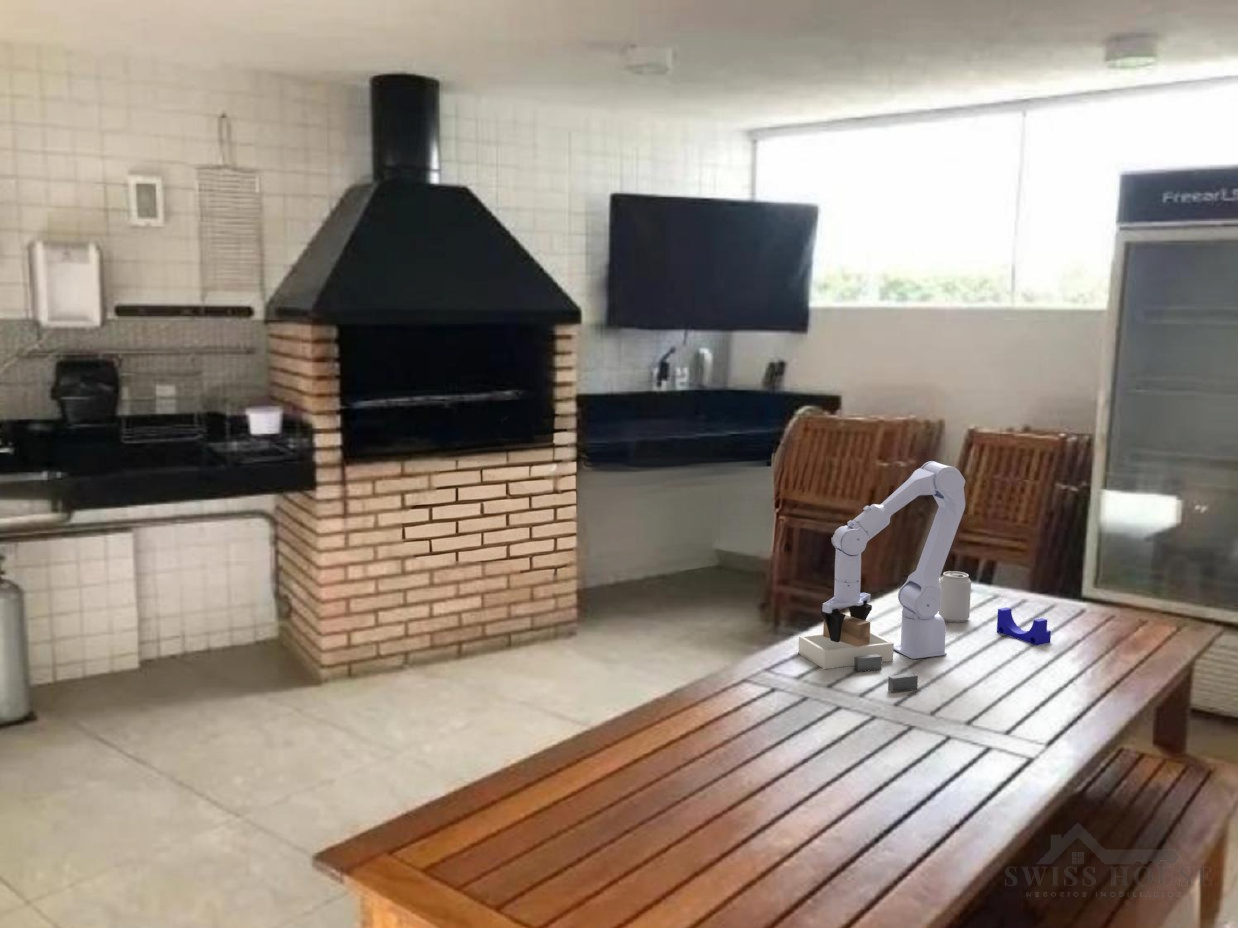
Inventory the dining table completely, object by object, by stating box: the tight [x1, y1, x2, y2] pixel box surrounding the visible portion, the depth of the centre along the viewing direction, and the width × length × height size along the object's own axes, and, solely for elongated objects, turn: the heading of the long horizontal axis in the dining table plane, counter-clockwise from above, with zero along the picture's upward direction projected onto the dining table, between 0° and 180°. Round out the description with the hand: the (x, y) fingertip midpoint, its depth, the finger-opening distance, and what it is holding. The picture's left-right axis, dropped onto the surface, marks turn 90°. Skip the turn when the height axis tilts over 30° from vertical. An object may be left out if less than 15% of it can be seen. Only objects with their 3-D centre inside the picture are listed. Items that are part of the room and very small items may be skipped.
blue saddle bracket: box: [996, 606, 1052, 646], centre depth 253 cm, size 12×4×6 cm, turn 29°
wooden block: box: [822, 614, 871, 647], centre depth 237 cm, size 4×10×5 cm, turn 39°
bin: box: [798, 630, 895, 670], centre depth 238 cm, size 18×12×4 cm, turn 109°
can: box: [938, 570, 972, 623], centre depth 267 cm, size 8×8×12 cm
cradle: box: [853, 654, 919, 694], centre depth 223 cm, size 6×15×3 cm, turn 19°
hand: (845, 637), depth 238 cm, fingers open, 7 cm apart
